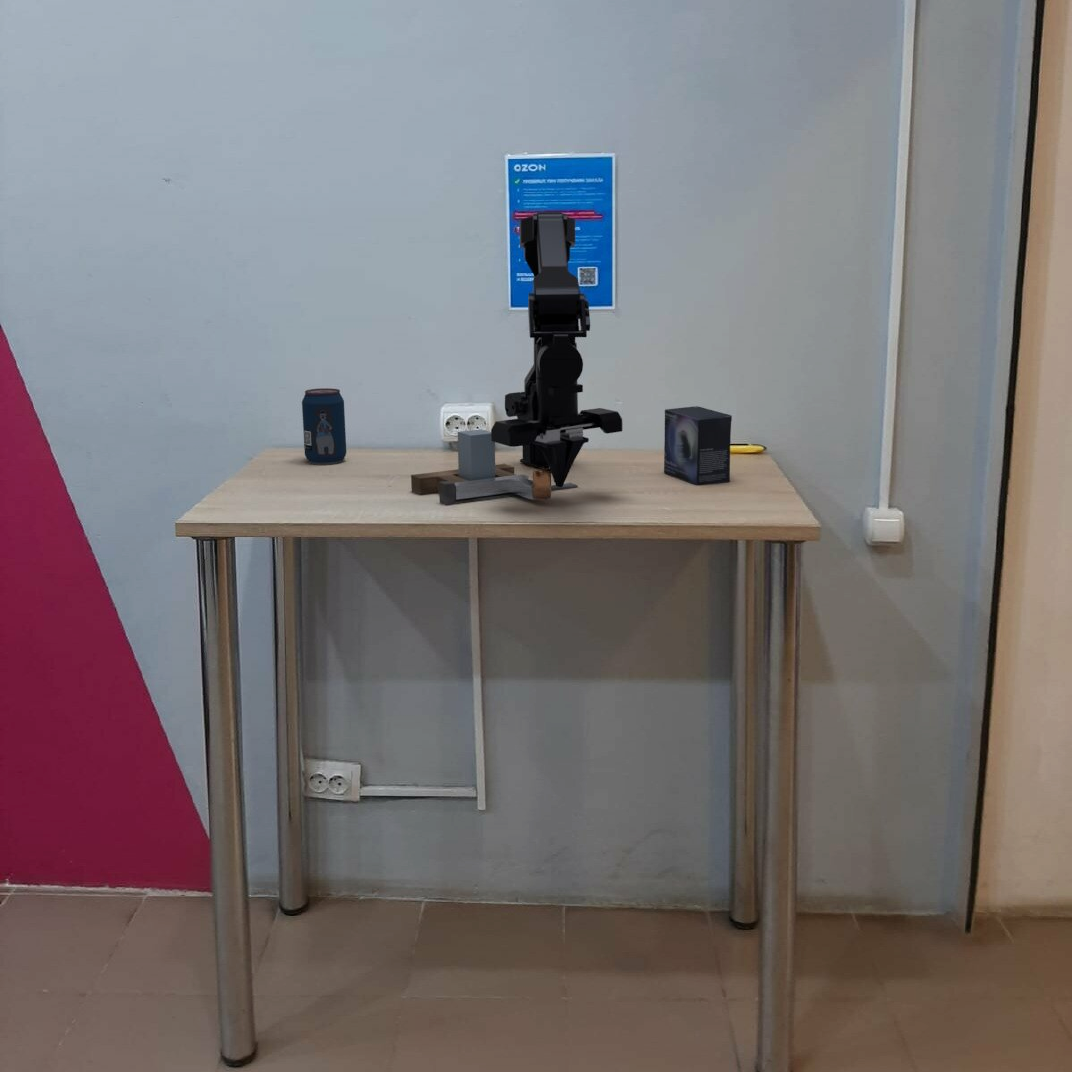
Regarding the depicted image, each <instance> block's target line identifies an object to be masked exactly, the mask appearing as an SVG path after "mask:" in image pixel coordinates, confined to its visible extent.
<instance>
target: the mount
mask: <svg viewBox="0 0 1072 1072" xmlns="http://www.w3.org/2000/svg"><path fill="white" fill-rule="evenodd" d="M512 475H517V474H516V473H515V466H512V465H510V464H506V463H500V464H499V463H498V464H495V478H496V477H504V476H512ZM410 480H411V481H410V483H411V484H410V485H411V492H412V493H414V494H417V495H420V496H423V495H430V494H431V495H432V494H438V495H439V503H440V504H441V505H444V506H451V505H456V504H457V505H459V504H462V503H463V504H464V503H470V502H471V503H472V502H479V501H485V500H492V499H494V500H495V499H500V498H506V497H507V498H509V497H516V496H518V495H517V494H514V493H512V492H509V493H502V494H494V495H487V496H479V497H472V498H465V499H457V500H456V499H455V483H456V482H464V481H468V480H465V479H463V478H460V477H459V472H458V469H457V468H456V469H450V470H449V469H448V470H442V471H433V472H425V473H416V474H411V475H410ZM578 487H579V486H578V484H575V483H572V482H568V483H566V482H565V483H564V484H563V486H562V487H557V486H556V484H553V485H552V484H551V492H552V491H559V490H567V489H574V488H578Z"/></svg>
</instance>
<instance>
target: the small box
mask: <svg viewBox="0 0 1072 1072" xmlns="http://www.w3.org/2000/svg"><path fill="white" fill-rule="evenodd" d="M732 419H733V417H732V415H731V414H728V413H723V412H721V411H720V412H719V411H717V410H716V411H715V410H712V409H709V408H705V407H702V406H697V405H695V406H687V407H678V408H677V407H676V408H668V409H667V408H666V409H664V445H663V446H664V451H663V455H664V459H663V460H664V462H663V473H665V474H667V475H670V476H672V477H674V478H676V479H679V480H682V481H683V482H684V481H685V482H687V483H690V484H693V485H695V486H702V485H704V486H705V485H715V484H723V483H730V482H731V477H730V476H731V442H732V441H731V435H732V433H731V430H732V421H733V420H732Z"/></svg>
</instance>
